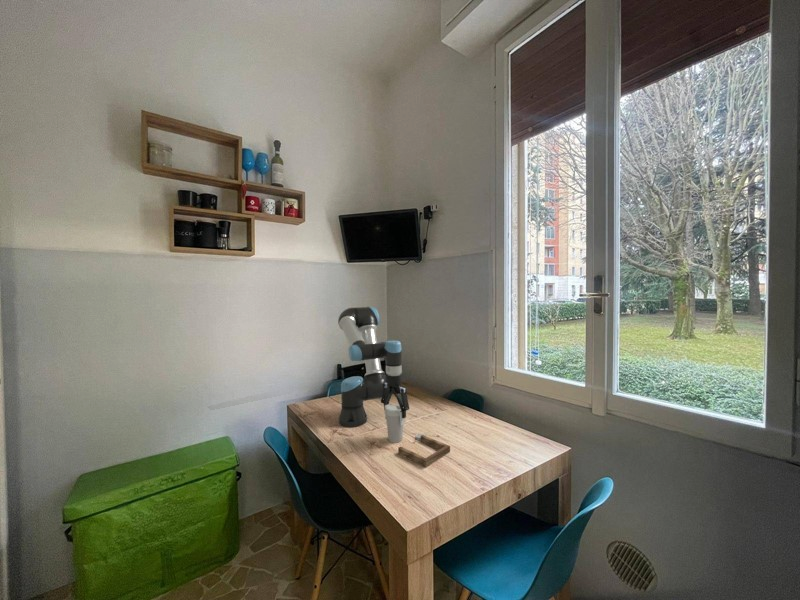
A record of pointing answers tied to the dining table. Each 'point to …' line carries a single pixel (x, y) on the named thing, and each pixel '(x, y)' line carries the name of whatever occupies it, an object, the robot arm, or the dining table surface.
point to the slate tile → (419, 436)
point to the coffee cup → (394, 423)
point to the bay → (430, 459)
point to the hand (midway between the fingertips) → (395, 421)
